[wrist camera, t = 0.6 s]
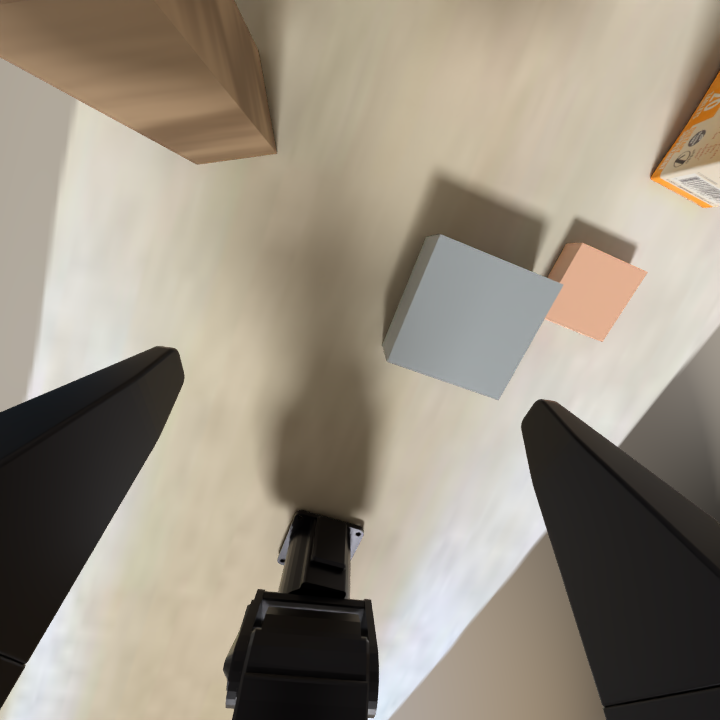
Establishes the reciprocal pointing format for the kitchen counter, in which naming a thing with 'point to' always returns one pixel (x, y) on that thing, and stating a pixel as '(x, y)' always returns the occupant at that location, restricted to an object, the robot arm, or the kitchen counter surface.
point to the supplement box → (696, 154)
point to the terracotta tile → (591, 289)
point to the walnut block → (151, 68)
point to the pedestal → (467, 316)
